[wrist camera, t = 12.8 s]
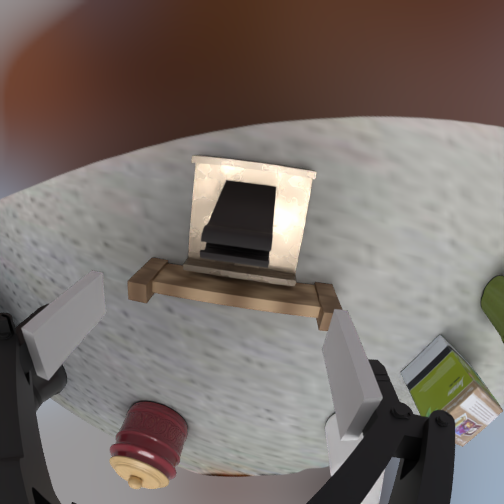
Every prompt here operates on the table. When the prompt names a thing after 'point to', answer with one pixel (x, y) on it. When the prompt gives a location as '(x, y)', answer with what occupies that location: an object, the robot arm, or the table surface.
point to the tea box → (450, 389)
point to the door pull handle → (234, 291)
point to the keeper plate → (284, 226)
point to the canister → (149, 445)
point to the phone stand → (241, 225)
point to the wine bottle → (341, 452)
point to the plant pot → (495, 303)
